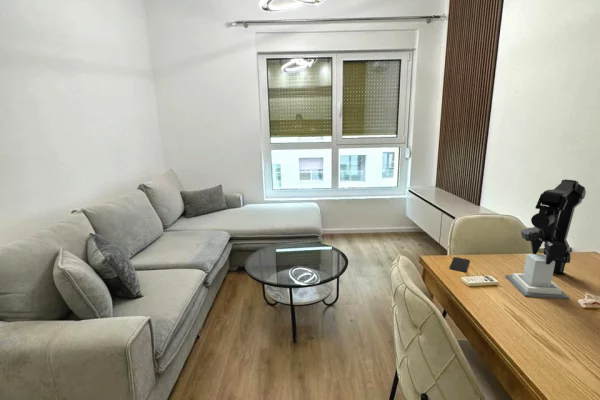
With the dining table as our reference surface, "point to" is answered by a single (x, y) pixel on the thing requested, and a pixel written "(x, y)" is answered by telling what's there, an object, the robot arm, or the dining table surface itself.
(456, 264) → the smartphone
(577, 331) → the dining table surface
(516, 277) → the dock
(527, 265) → the supplement box
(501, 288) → the dining table surface
